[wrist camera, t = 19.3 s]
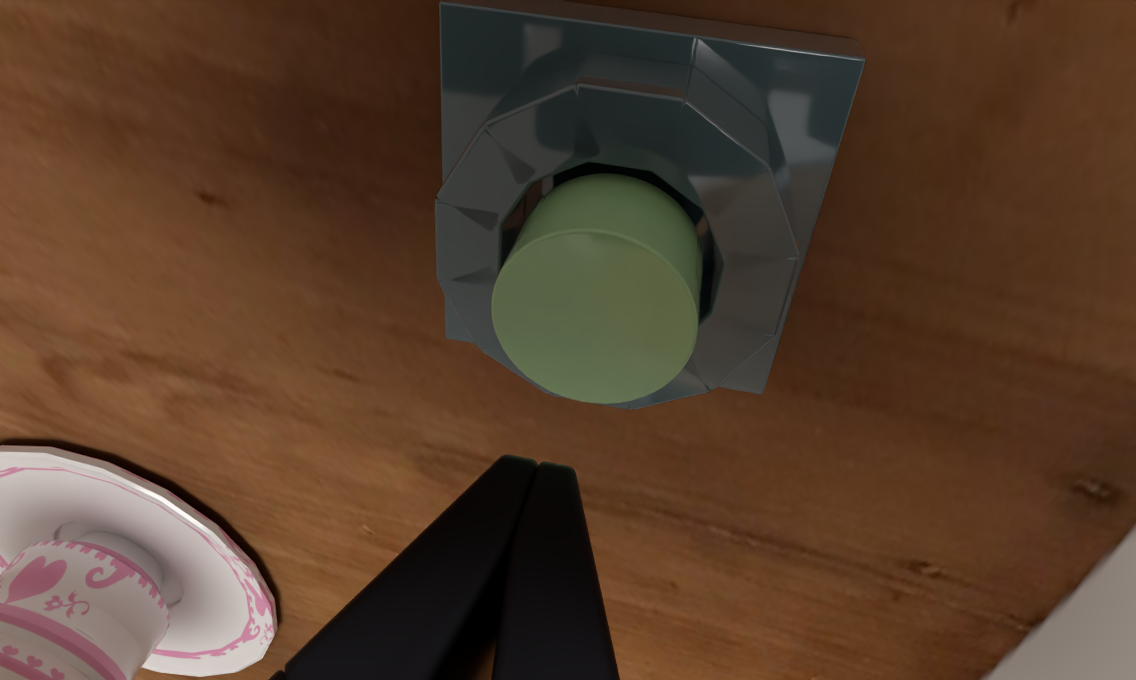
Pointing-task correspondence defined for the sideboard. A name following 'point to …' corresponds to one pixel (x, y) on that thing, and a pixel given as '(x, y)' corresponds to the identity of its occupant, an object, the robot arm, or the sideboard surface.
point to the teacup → (118, 576)
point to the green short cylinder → (601, 290)
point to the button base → (641, 155)
